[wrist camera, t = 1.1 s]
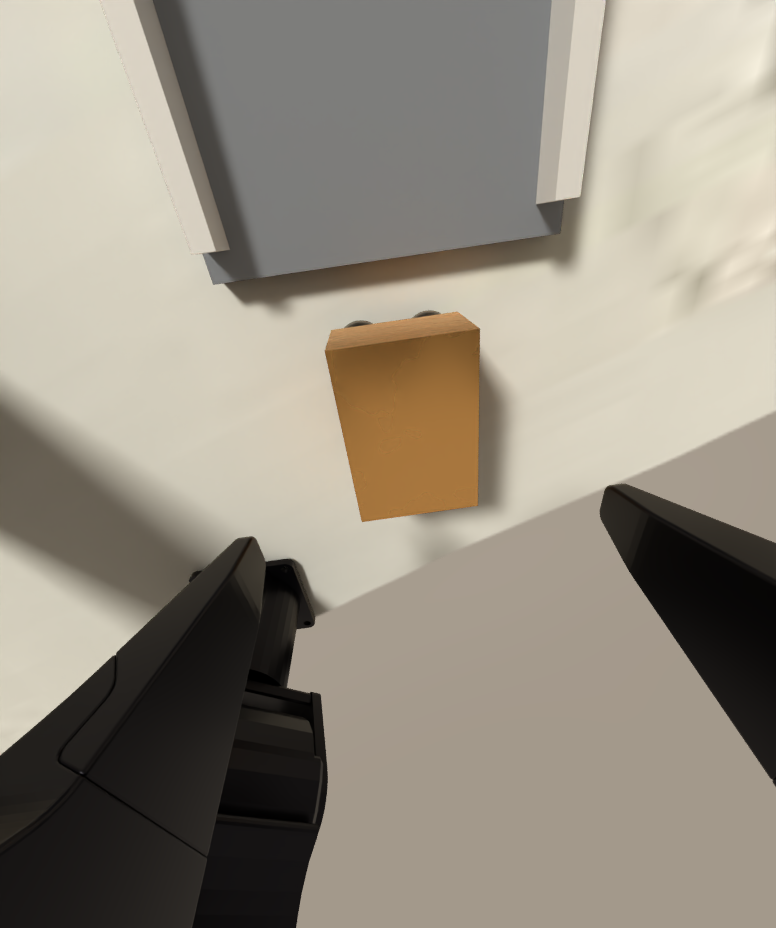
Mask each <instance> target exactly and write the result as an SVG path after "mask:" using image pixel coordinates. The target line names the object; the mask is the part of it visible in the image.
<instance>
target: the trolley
mask: <svg viewBox="0 0 776 928" xmlns="http://www.w3.org/2000/svg"><path fill="white" fill-rule="evenodd" d="M325 354H326V359H327V363H328V368H329V373H330V377H331V382H332V386H333V391H334V396H335V400H336V405H337V409H338V414H339V419H340V423H341V428H342V432H343V437H344V442H345V446H346V451H347V456H348V460H349V465H350V469H351V474H352V479H353V483H354V488H355V492H356V497H357V502H358V506H359V511H360V515H361V520H362V522H365V521H372V520H379V519H387V518H394V517H401V516H408V515H415V514H422V513H429V512H436V511H444V510H451V509H458V508H465V507H472V506H478V443H479V356H480V328H478V327H477V326H476V325H474V324H473V323H472V322H470V321H469V320H468V319H466V318H465V317H464V316H462V315H461V314H460V313H458V312H452V313H445V314H441V313H439V312H436V311H431V310H429V311H423V312H420V313H418V314H416V315H415V316H414V317H413V318H411V319H404V320H397V321H390V322H383V323H377V324H373V323H371V322H368V321H354V322H352V323H350V324H348V325H347V326H346V327H345V328H342V329H335V330H331V333H330V336H329V339H328V343H327V346H326V349H325Z"/></svg>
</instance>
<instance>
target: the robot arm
mask: <svg viewBox="0 0 776 928" xmlns="http://www.w3.org/2000/svg"><path fill="white" fill-rule="evenodd" d="M600 517H601V520H602V522H603V524H604V526H605V528H606V530H607V531H608V533H609V535H610V537H611V539H612V540H613V543H614V545H615V546H616V548H617V550H618V552H619V554H620V556H621V558H622V559H623V561H624V563H625V565H626V566H627V568H628V570H629V572H630V573H631V575H632V576H633V578H634V579H635V581H636V582H637V584H638V585H639V587H640V588H641V589H642V591H643V593H644V594H645V595H646V597H647V598H648V600H649V601H650V603H651V604H652V606H653V607H654V609H655V610H656V612H657V613H658V614H659V616H660V617H661V619H662V620H663V622H664V623H665V625H666V626H667V628H668V629H669V630H670V632H671V634H672V635H673V637H674V638H675V639H676V641H677V642H678V644H679V645H680V647H681V648H682V649H683V651H684V653H685V654H686V655H687V657H688V658H689V660H690V661H691V663H692V664H693V666H694V667H695V669H696V670H697V672H698V673H699V675H700V676H701V677H702V679H703V680H704V682H705V683H706V685H707V686H708V688H709V689H710V691H711V692H712V694H713V695H714V697H715V698H716V699H717V701H718V702H719V704H720V705H721V707H722V708H723V710H724V711H725V712H726V714H727V716H728V717H729V718H730V720H731V721H732V723H733V724H734V726H735V727H736V729H737V730H738V732H739V733H740V735H741V736H742V737H743V739H744V740H745V742H746V743H747V745H748V746H749V748H750V749H751V750H752V752H753V754H754V755H755V756H756V758H757V759H758V761H759V762H760V764H761V765H762V767H763V768H764V770H765V771H766V772H767V774H768V776H769V777H770V778H771V779H773V783H774V785H775V786H776V543H774V542H772V541H769V540H767V539H764V538H762V537H759V536H756V535H754V534H751V533H749V532H746V531H744V530H741V529H739V528H736V527H734V526H731V525H729V524H726V523H724V522H721V521H719V520H716V519H713V518H711V517H708V516H706V515H703V514H701V513H698V512H696V511H693V510H691V509H688V508H686V507H683V506H681V505H678V504H676V503H673V502H670V501H668V500H665V499H663V498H660V497H658V496H655V495H653V494H650V493H648V492H645V491H643V490H640V489H638V488H635V487H632V486H630V485H627V484H616V485H610V486H607V487H606V489H605V491H604V495H603V499H602V503H601V507H600ZM286 567H288V568H286ZM189 582H190V583H189V584H188V585H187V586H186V587H185V588H184V589H183V590H182V591H181V592H180V593H179V594H178V595H177V596H176V597H175V598H174V599H173V600H171V601H170V602H169V603H168V604H167V605H166V606H165V607H164V608H163V609H162V610H161V611H160V612H159V613H158V614H157V615H156V616H155V617H153V618H152V619H151V620H150V621H149V622H148V623H147V624H146V625H145V626H144V627H143V628H142V629H141V630H140V631H139V632H138V633H137V634H136V635H134V636H133V637H132V638H131V639H130V640H129V641H128V642H127V643H126V644H125V645H124V646H123V647H122V648H121V649H120V650H119V651H118V652H117V653H116V655H114V656H112V657H111V658H110V659H109V660H108V661H107V662H106V663H105V664H104V665H103V666H102V667H101V668H99V669H98V670H97V671H96V672H95V673H94V674H93V675H92V676H91V677H90V678H89V679H88V680H86V681H85V682H84V683H83V684H82V685H81V686H80V687H79V688H78V689H77V690H76V691H74V692H73V693H72V694H71V695H70V696H69V697H68V698H67V699H66V700H64V701H63V702H62V703H61V704H60V705H59V706H58V707H56V708H55V709H54V710H53V711H52V712H51V713H49V714H48V715H47V716H46V717H45V718H44V719H43V720H41V721H40V722H39V723H38V724H37V725H36V726H34V727H33V728H32V729H31V730H30V731H29V732H27V733H26V734H25V735H24V736H23V737H22V738H20V739H19V740H18V741H17V742H16V743H14V744H13V745H12V746H11V747H10V748H9V749H7V750H6V751H5V752H4V753H3V754H2V755H0V928H296V924H297V917H298V911H299V905H300V899H301V893H302V889H303V885H304V881H305V876H306V872H307V868H308V863H309V860H310V857H311V854H312V851H313V848H314V845H315V842H316V839H317V836H318V832H319V829H320V826H321V822H322V818H323V814H324V809H325V802H326V795H327V783H328V776H327V775H328V774H327V761H326V749H325V737H324V726H323V715H322V704H321V695H320V694H318V693H314V692H310V693H306V692H301V691H297V690H293V689H289V688H287V683H288V677H289V671H290V665H291V659H292V653H293V646H294V640H295V634H296V629H301V628H309V627H312V626H313V625H314V624H315V616H314V613H313V611H312V608H311V605H310V603H309V600H308V598H307V595H306V592H305V590H304V587H303V584H302V582H301V579H300V577H299V574H298V571H297V569H296V566H295V564H294V562H293V561H291V560H289V559H282V560H275V561H268V562H265V559H264V556H263V554H262V551H261V549H260V547H259V545H258V542H257V540H256V539H255V538H254V537H252V536H250V537H243V538H238V539H236V540H235V541H234V542H233V543H232V544H231V545H230V546H229V547H227V548H226V549H225V550H224V551H223V552H222V553H221V554H220V555H219V556H218V557H217V558H216V559H215V560H214V561H213V562H212V563H211V564H209V565H208V566H207V567H206V568H205V569H204V570H203V571H197V572H194V573H193V574H192V575H191V577H190V580H189Z"/></svg>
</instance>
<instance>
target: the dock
mask: <svg viewBox="0 0 776 928" xmlns="http://www.w3.org/2000/svg"><path fill="white" fill-rule="evenodd" d="M99 1H100V4H101V6H102V9H103V12H104V15H105V18H106V20H107V23H108V26H109V29H110V31H111V34H112V37H113V40H114V42H115V45H116V48H117V51H118V53H119V56H120V59H121V62H122V64H123V67H124V70H125V73H126V75H127V78H128V81H129V84H130V86H131V89H132V92H133V95H134V97H135V100H136V103H137V106H138V109H139V111H140V114H141V117H142V120H143V122H144V125H145V128H146V131H147V133H148V136H149V139H150V142H151V144H152V147H153V150H154V153H155V155H156V158H157V161H158V164H159V166H160V169H161V172H162V175H163V177H164V180H165V183H166V186H167V188H168V191H169V194H170V197H171V200H172V202H173V205H174V208H175V211H176V213H177V216H178V219H179V222H180V224H181V227H182V230H183V233H184V235H185V238H186V241H187V244H188V246H189V249H190V252H191V255H194V254H203V257H204V259H205V262H206V265H207V268H208V271H209V274H210V277H211V280H212V282H213V285H215V284H221V283H228V282H235V281H242V280H248V279H255V278H262V277H269V276H275V275H282V274H289V273H296V272H302V271H309V270H316V269H323V268H329V267H336V266H343V265H350V264H357V263H363V262H370V261H377V260H384V259H390V258H397V257H404V256H411V255H417V254H424V253H431V252H438V251H444V250H451V249H458V248H465V247H471V246H478V245H485V244H492V243H498V242H505V241H512V240H519V239H526V238H532V237H539V236H546V235H553V234H559V233H560V231H561V222H562V213H563V204H564V200H566V199H571V198H577V197H580V195H581V187H582V180H583V172H584V164H585V157H586V149H587V141H588V134H589V126H590V118H591V111H592V103H593V96H594V88H595V80H596V73H597V65H598V57H599V50H600V42H601V34H602V27H603V19H604V11H605V4H606V0H99Z"/></svg>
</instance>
